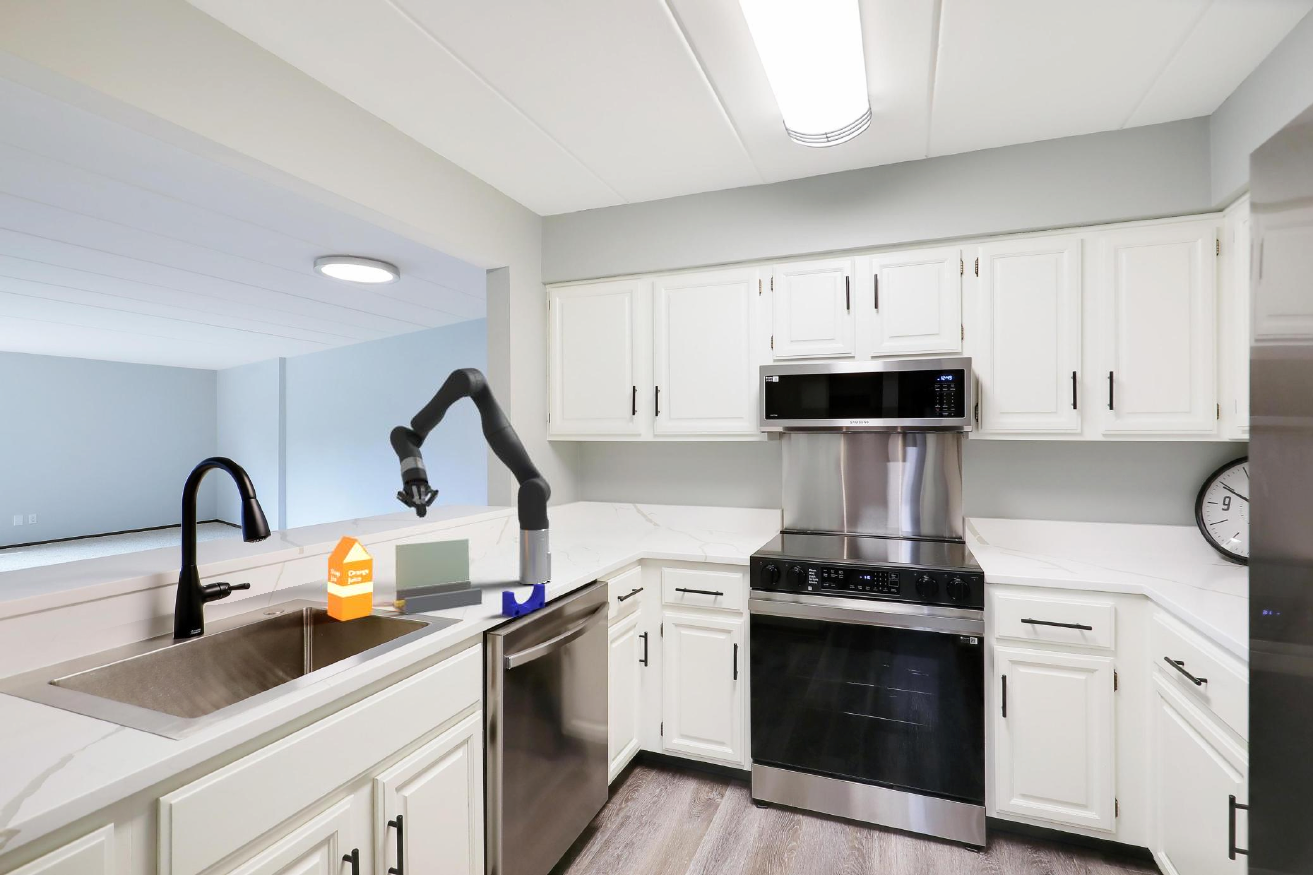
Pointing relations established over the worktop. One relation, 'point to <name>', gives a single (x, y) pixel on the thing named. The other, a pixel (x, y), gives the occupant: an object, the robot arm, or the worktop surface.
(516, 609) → the blue u-shaped block
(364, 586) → the orange juice
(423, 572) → the pale green flat panel
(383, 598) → the worktop surface
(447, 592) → the cable duct
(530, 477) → the robot arm
